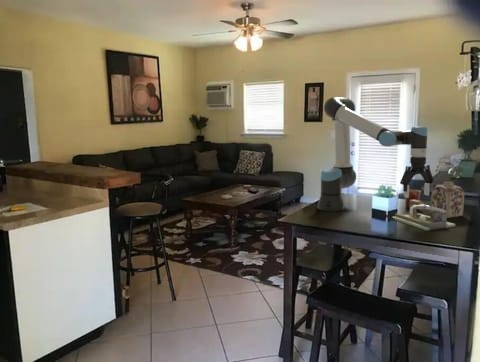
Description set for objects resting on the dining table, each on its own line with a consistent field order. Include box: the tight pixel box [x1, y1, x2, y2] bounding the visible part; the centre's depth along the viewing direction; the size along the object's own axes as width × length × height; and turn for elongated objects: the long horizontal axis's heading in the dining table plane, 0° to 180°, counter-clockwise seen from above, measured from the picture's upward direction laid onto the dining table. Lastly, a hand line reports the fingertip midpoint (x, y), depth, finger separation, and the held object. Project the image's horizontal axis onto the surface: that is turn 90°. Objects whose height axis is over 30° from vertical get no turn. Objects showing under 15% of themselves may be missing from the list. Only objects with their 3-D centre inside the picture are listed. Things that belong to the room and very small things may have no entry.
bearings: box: [430, 211, 448, 222], centre depth 192 cm, size 7×3×6 cm, turn 20°
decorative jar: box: [429, 181, 465, 219], centre depth 208 cm, size 12×12×18 cm
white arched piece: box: [409, 199, 446, 219], centre depth 197 cm, size 21×10×7 cm, turn 20°
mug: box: [404, 188, 422, 210], centre depth 224 cm, size 12×9×10 cm
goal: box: [420, 218, 447, 231], centre depth 186 cm, size 6×10×3 cm, turn 110°
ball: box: [419, 214, 426, 221], centre depth 192 cm, size 3×3×3 cm
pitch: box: [391, 211, 456, 231], centre depth 195 cm, size 23×18×3 cm
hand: (416, 196), depth 204 cm, fingers open, 13 cm apart
